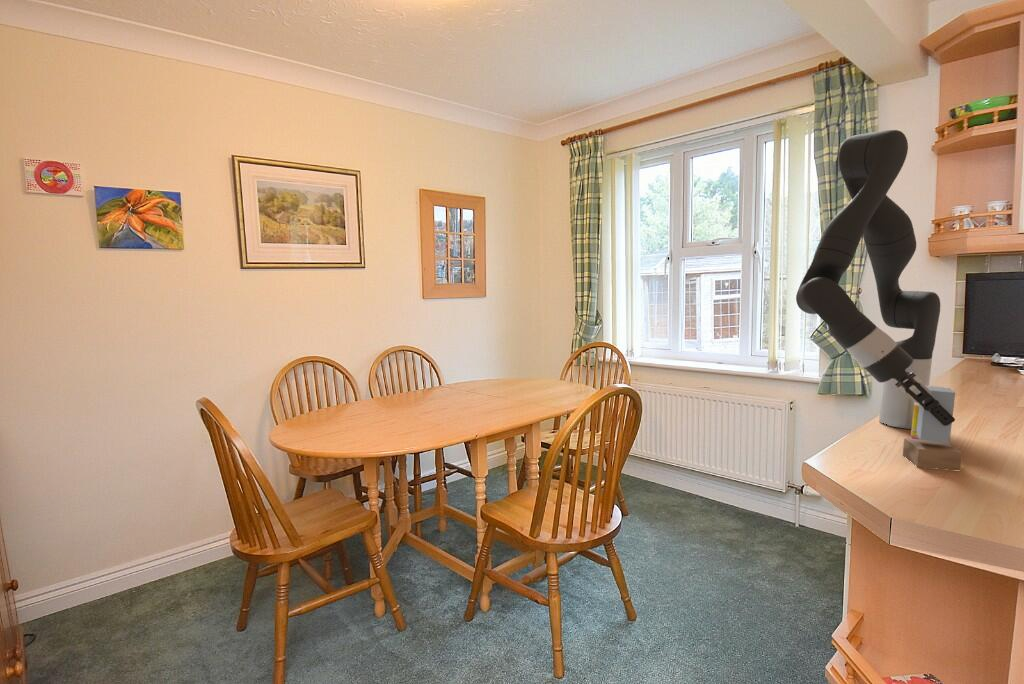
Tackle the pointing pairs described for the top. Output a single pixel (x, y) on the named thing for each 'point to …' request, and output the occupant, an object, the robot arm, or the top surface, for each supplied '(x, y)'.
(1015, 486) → the top surface
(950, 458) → the walnut block
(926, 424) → the blue block
